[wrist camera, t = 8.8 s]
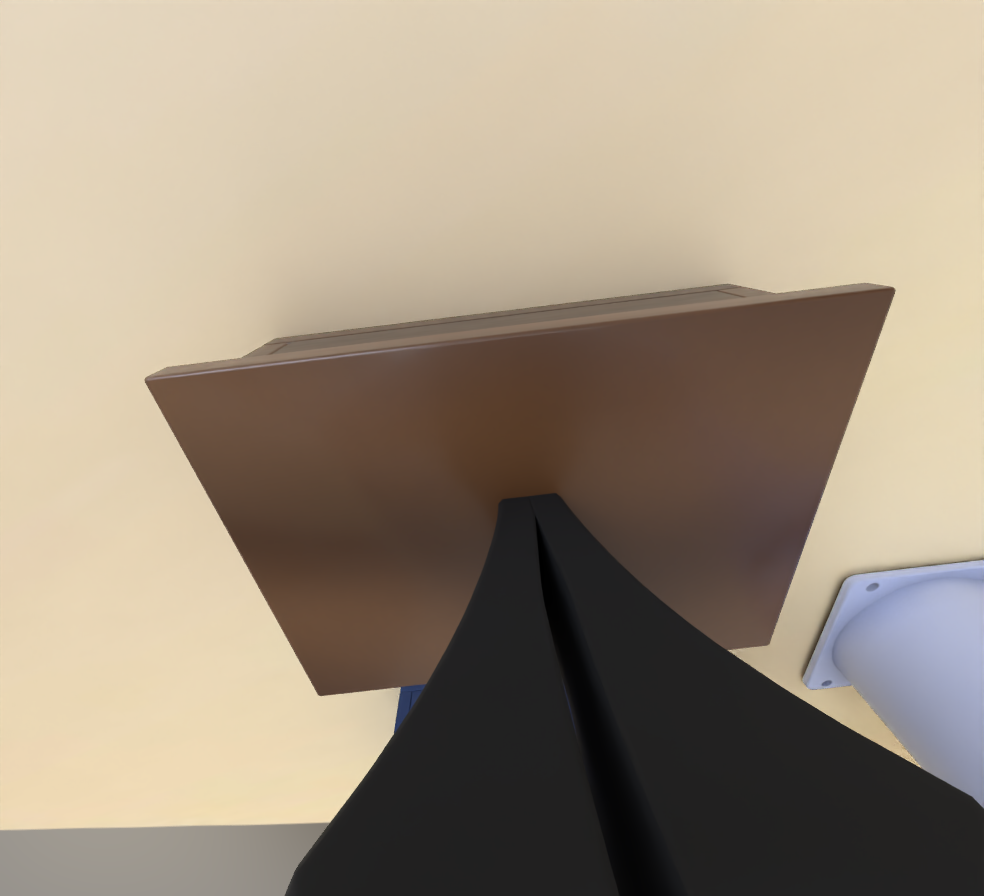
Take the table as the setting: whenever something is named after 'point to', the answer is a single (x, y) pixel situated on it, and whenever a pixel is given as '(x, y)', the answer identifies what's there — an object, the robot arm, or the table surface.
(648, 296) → the pen box
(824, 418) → the pen box lid
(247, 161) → the table surface
